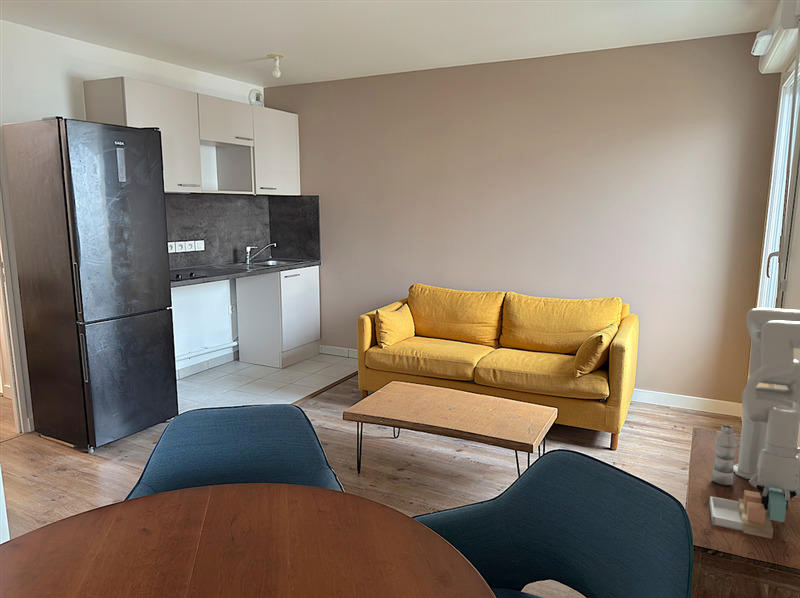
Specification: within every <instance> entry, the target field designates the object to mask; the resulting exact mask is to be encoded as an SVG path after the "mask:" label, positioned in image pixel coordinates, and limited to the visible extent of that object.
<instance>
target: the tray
mask: <svg viewBox="0 0 800 598" xmlns="http://www.w3.org/2000/svg"><path fill="white" fill-rule="evenodd" d="M708 505H709V510H710V518H711V524H712V526H718V527H721V528H728V529H732V530H736V531H742V532H743V526H744V522H742V521H741V519H740V514H739V510H738V506H739V501H738V500H733V499H727V498H722V497H717V496H711V495H710V496H709V504H708Z"/></svg>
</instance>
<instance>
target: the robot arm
mask: <svg viewBox="0 0 800 598" xmlns="http://www.w3.org/2000/svg"><path fill="white" fill-rule="evenodd" d="M745 323H746V328H747V331H748V334H749V337H750V341H751V342H750V345H751V347H750V357H749V368H748V369H749V370H748V374H749V378H748V380H747V382H746V383H745V388H744V390H742V393H741V405H742V419H741V420H742V421H741V422H742V423H741V431H740V432H741V434H740V443H739V453H738V461H737V463H736V464H733V472H735V473H734V474H735V475H737V476H739V477H740V478H744V479H746V480H748V482H749V484H750V485H751V486H752V487H755V489H756V490H757V491H758V492H759V493H760V495H761V504H763V505H764V508H765V510H767V509H768V501H769V497H768V491H769V487H772V488H777V489H781V490H782V493H783V495H784V497H785V500H786V502H787V503H786V511H787V510H788V507H789V501H790V500H791V499H793V498H795V497H796V496H799V495H800V462H799V461H800V460H799V456H798V454H800V447H799V446H798V438H799V429H800V360H799V359H796V358H795V356H794V355H795V352H794V349H799V350H800V309H789V308H777V307H776V308H774V307H756V308H754V307H753V308H751V309H749V310H748V312H747V313H746V322H745ZM759 384H764V385H773V386H782V387H786V388H787V389H784V388H783V389H782V388H775V387H767V386H766V387H765V386H758V385H759ZM749 479H750V480H749Z"/></svg>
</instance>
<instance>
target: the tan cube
mask: <svg viewBox="0 0 800 598" xmlns="http://www.w3.org/2000/svg"><path fill="white" fill-rule="evenodd" d="M742 499H743V504H744V508H747V501H749V502H754V503H759V504H761V500H762V495H761V492H760V491H752V490H749V489H748V490H747V489H744V490H743V497H742Z"/></svg>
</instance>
